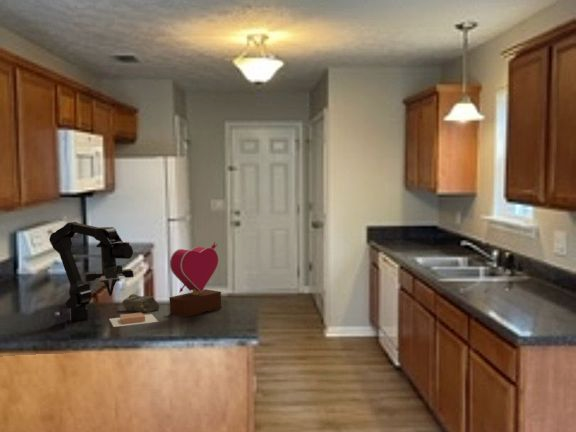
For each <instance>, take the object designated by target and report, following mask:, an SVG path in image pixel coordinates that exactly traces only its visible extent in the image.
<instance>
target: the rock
mask: <svg viewBox="0 0 576 432" xmlns="http://www.w3.org/2000/svg"><path fill="white" fill-rule="evenodd" d="M121 304H122V306H123V307H124V310H125V311H131V312H138V313H141V312H142V313H150V312H155V311H158V310H159V309H160V304H159V303H158V301H157V300H155V298H154V296H150V295H149V296H148V295H137V294H134V293H133V294H130V295H129V296H128V297H127V298H125V299H123V301H122V302H121Z"/></svg>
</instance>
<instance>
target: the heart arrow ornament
mask: <svg viewBox="0 0 576 432" xmlns="http://www.w3.org/2000/svg"><path fill="white" fill-rule="evenodd" d="M217 246H218V244H216V242H213V244H212V245H211V247H204V246H203V247H202V246H195V247H193V248H191V249H190V250H189V249H182V248H179V249H176V250H175V251H173V253H172V255H171V257H170V259H169V267H170V271H171V272H172V274H173V276H175V277H176V278H177V279H178V281H180V282H181V283H182V284H183V286H182V287H180V289H179V294H178V295H174V296H169V297H168V299H169V314H170V315H171V316H177V317H182V318H188V317H192V316H193V317H194V316H196V314H197V315H200V314H199V313H201V314H203V313H202V312H205V313H207V312H206V311H208V312H211V311H210V310H212V311H214V310H213V309H216V310H219V309H218V308H220V309H222V308H223V307H222V295H221V294H222V292H221V291H218V290H212V289H208V288H207V289H205V288H206V286H207V284H208V283H209V281H210V280H211V278H212V276H213V275H214V273H215V272H216V270H217V267H218V265H219V256H218V255H219V254H218V252H217V251H216V247H217ZM185 287H186V288H187V289H188V291H190V292H188V293H183V294H180V293H181V292H183V291H184V288H185Z"/></svg>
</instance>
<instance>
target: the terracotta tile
mask: <svg viewBox="0 0 576 432" xmlns="http://www.w3.org/2000/svg"><path fill="white" fill-rule="evenodd" d="M144 315H145V314H144V313H143V312H134V313H123V314H119V318H120V320H121V321H122V323H123V324H125V323H134V322H142V321H145V316H144Z"/></svg>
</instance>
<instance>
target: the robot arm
mask: <svg viewBox="0 0 576 432" xmlns="http://www.w3.org/2000/svg"><path fill="white" fill-rule="evenodd" d="M76 234H78V235H84V236H87V237H90V238H91V237H92V238H94V239H95V240H96V241H98V244H96V248H100V255H101V257H100V258H101V273H96V272H95V271H90V272H85V273H84V279H85V282H87V283H85V282H84V281H83V280H82V276H81V275H80V274H81V273H80V271H79V268H78V266H77V262H76V260H75V257H74V255H73V253H72V246H73V241H72V238H74V237H75V235H76ZM48 240H49V242H50V245H51V246H52V249H54V251H56V252H57V253H58V254H59V257H60V261H61V263H62V265H63V267H64V271H65V274H66V276H67V279H68V282H69V291H68V293H69V298H68V299H67V301H65V303H64V304H65V307H66V308H67V309H69V316H70V318H69V320H70V323H74V322H75V323H77V322H84V321H88V319H89V315H88V311H89V310H88V308H87V305H89V304H90V301H91V299H92V296H93V295H92V292H93V291H92V290H91V287H90V283H88V282H95V280H97V279H99V281H100V282H101V283H103V284H104V286H105V288H106V291H107V293H108V294H107V295H108V296H109V297H110V296H111V297H112V296H113V292H114V288H115V286H116V283H117V282H118V281H120V277H124V278H126V279H128V278H134V271H133V270H132V269H131V268H125V269H123V265H121V264H119V265H117V260H119V259H120V260H121V259H123V260H129V259H132V257H133V253H134V249H133V248H132V246H131V244H130V241H125V242H124V241H123V239H122V238H121V237H120V235H119V233H118V232H117V229H116V228H115V227H113V226H111V227H110V226H104V227H103V226H101V227H98V226H93V225H88V224H85V223H84V224H83V223H79V222H77V221H73V222H72V221H71V222H67V223H65V224H64V226H62V227H60V228H58V229H57V230H56V231H54V232H52V233H51V234H50V236H49V239H48ZM109 279H110V280H109Z"/></svg>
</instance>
